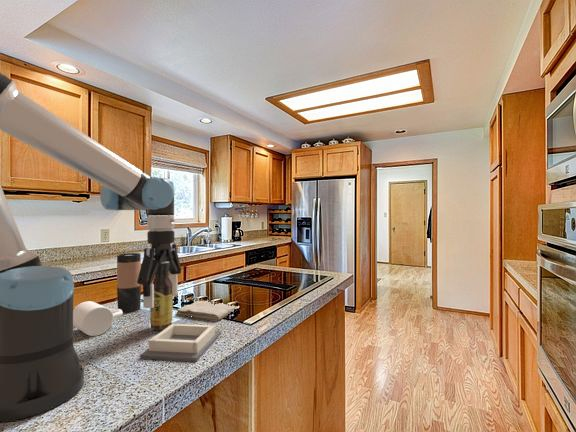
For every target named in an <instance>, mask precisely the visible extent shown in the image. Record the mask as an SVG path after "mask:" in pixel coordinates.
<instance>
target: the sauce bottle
mask: <svg viewBox="0 0 576 432" xmlns="http://www.w3.org/2000/svg"><path fill="white" fill-rule="evenodd" d="M169 266H170V263H169V262H168V261H162V263H161V264H159V266H158V269H157V271H156V274H155V276H154V279H153V281H152V284H154V307H153V308H149V309H150V310H149V324H150V329H151V330H153V331H160V332H161V331H163V330H164V329H166V328H167V327H169V326H170V325H172V324H173V305H174V304H173V301H174V295H173V292H172V288H173V285H172V282H171V280H170V279H169V273H170V272H169Z"/></svg>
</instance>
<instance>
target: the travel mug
mask: <svg viewBox="0 0 576 432" xmlns="http://www.w3.org/2000/svg"><path fill="white" fill-rule="evenodd" d="M141 255H142V254H141V253H139V252H138V253H136V252H135V253H134V252H133V253H132V252H131V253H130V252H129V253H121V254H117V255H116V297H117V299H116V300H117V309H121V310H122V312H123V314H130V313H135V312H138V311H140V310H141V302H142V301H141V297H142V296H141V295H142V285H139V284H138V283H137V280H138V276H139V272H140V269H141V265H142V262H141V260H142V259H141V257H142V256H141Z"/></svg>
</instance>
